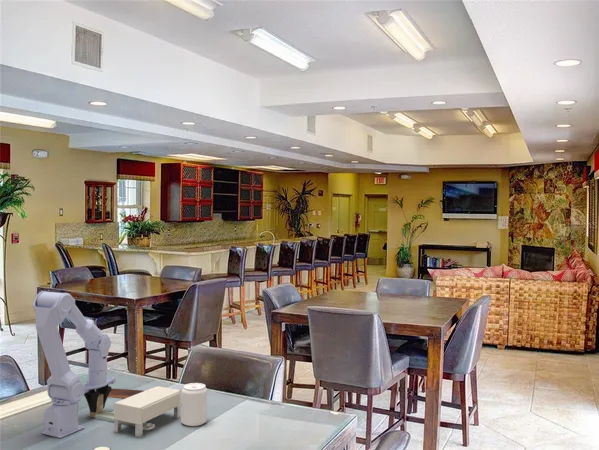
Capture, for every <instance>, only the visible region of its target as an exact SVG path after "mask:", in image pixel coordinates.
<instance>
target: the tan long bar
mask: <svg viewBox="0 0 599 450" xmlns="http://www.w3.org/2000/svg"><path fill="white" fill-rule="evenodd" d="M89 417H90V418H91V417H92V418H94V419H97V420H101V421H106V422H111V423H114V412H109V411H105V410H104V409H103V394H99V396H98V400H97V409H96V412H90V411H89ZM146 423H147V421H146V422H144V423H143V424H146ZM121 425H123V426H129V427H131V428H135V424H134V423H130V422H125V421H121Z"/></svg>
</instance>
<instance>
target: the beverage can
mask: <svg viewBox="0 0 599 450" xmlns="http://www.w3.org/2000/svg"><path fill="white" fill-rule="evenodd" d="M206 385H207V384H205V383H202V382H191V383H186V384H184V385H183V388H182V389H181V406H180V419H181V422H180V423H182V424H183V425H185V426H187V427H198V426H201V425H203V424H205V423H207V416H208V414H207V412H208V411H207V408H208V389H207V387H206Z"/></svg>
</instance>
